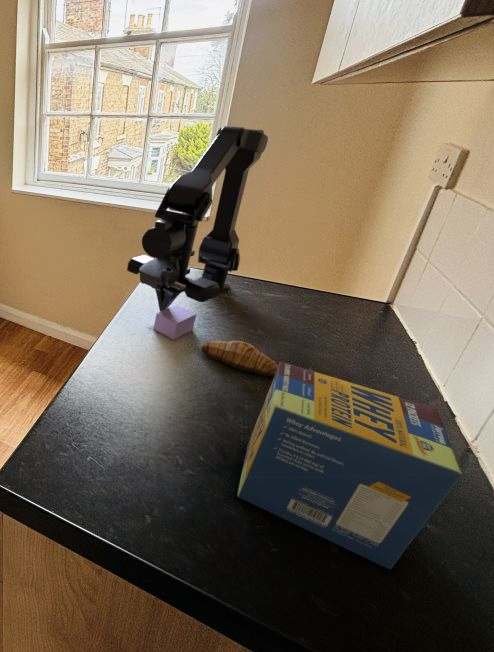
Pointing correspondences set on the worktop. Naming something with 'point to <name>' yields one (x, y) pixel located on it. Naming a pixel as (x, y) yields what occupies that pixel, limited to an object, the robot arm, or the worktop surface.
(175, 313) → the block
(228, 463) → the worktop surface
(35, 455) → the worktop surface
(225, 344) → the croissant
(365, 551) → the protein box
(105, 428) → the worktop surface
